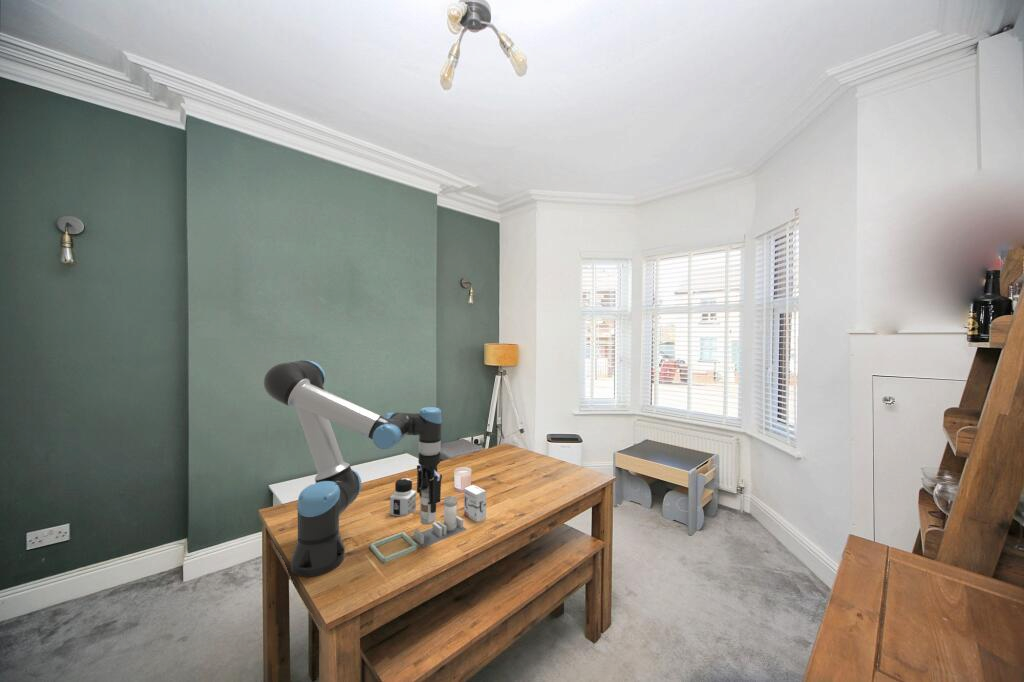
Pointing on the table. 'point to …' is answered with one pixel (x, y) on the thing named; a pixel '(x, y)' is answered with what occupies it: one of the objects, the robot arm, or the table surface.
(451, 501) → the cylinder
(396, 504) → the container
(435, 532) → the fuse block
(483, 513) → the ink box
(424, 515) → the cylinder
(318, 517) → the robot arm
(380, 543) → the parts tray
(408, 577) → the table surface
